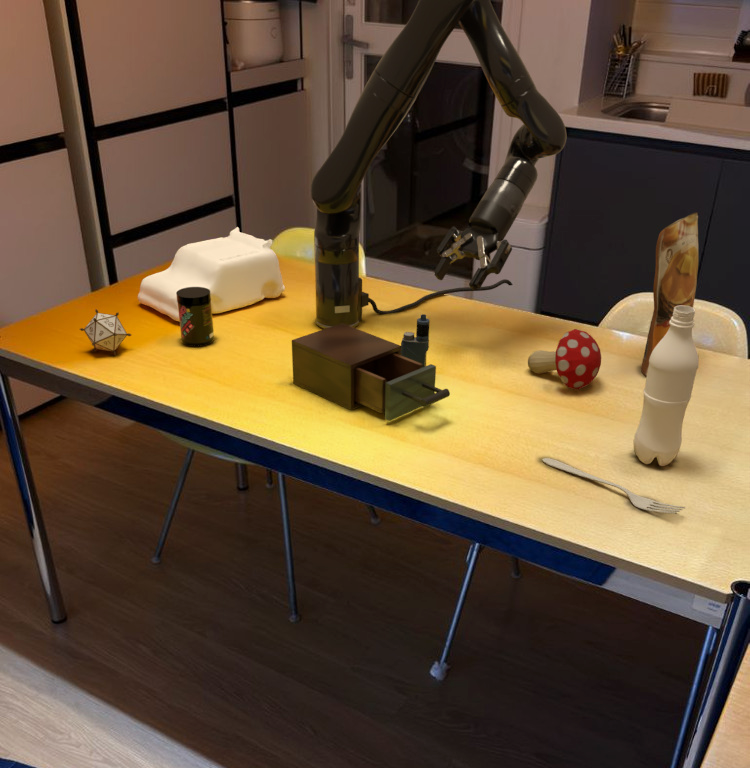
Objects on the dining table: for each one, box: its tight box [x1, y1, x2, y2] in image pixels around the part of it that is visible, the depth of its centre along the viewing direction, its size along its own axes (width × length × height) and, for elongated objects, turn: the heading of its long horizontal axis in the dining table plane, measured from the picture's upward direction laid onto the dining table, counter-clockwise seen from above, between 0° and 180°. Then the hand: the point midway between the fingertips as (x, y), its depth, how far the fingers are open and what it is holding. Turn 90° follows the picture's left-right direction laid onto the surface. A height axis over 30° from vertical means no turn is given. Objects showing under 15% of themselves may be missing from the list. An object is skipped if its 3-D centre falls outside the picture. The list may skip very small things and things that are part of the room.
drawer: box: [354, 353, 451, 422], centre depth 154 cm, size 20×11×7 cm, turn 45°
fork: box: [541, 457, 687, 515], centre depth 133 cm, size 3×24×2 cm, turn 44°
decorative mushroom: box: [527, 328, 602, 391], centre depth 165 cm, size 11×11×15 cm
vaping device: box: [400, 313, 430, 367], centre depth 165 cm, size 3×5×12 cm, turn 78°
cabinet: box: [291, 323, 401, 411], centre depth 161 cm, size 16×13×9 cm
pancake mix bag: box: [640, 211, 700, 377], centre depth 167 cm, size 7×19×28 cm, turn 136°
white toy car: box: [137, 226, 286, 323], centre depth 198 cm, size 19×30×13 cm, turn 133°
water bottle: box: [633, 306, 700, 467], centre depth 135 cm, size 7×7×25 cm
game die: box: [79, 308, 132, 356], centre depth 174 cm, size 9×8×10 cm
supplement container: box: [176, 287, 215, 348], centre depth 178 cm, size 7×7×10 cm
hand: (454, 282), depth 166 cm, fingers open, 8 cm apart
